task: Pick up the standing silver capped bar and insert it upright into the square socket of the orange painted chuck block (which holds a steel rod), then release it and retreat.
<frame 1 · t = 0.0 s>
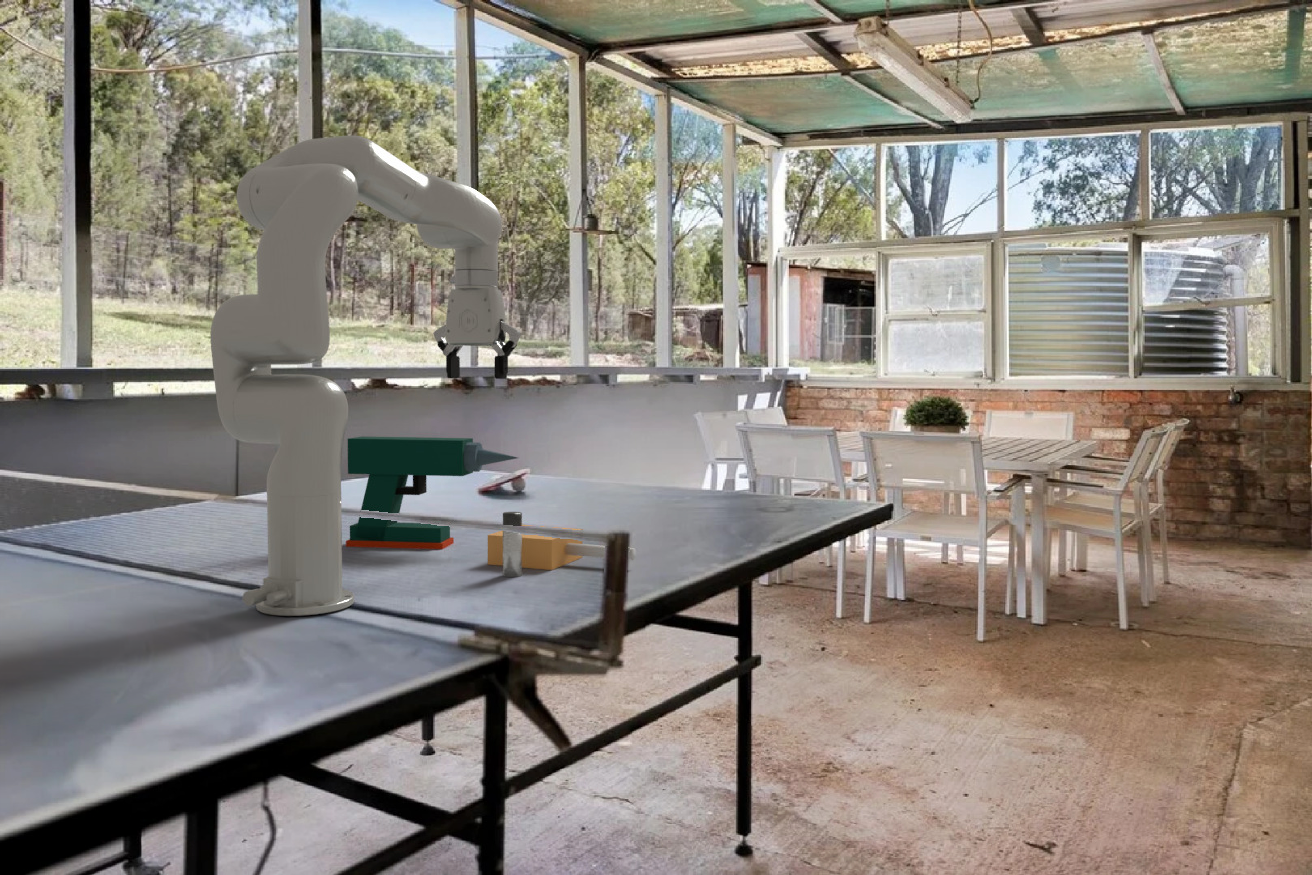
hand: (476, 378, 172), 31 cm above the table, fingers open, 9 cm apart
power tool: (436, 546, 179), on the table
silver capped bar: (512, 575, 153), on the table
chuck block: (536, 560, 165), on the table
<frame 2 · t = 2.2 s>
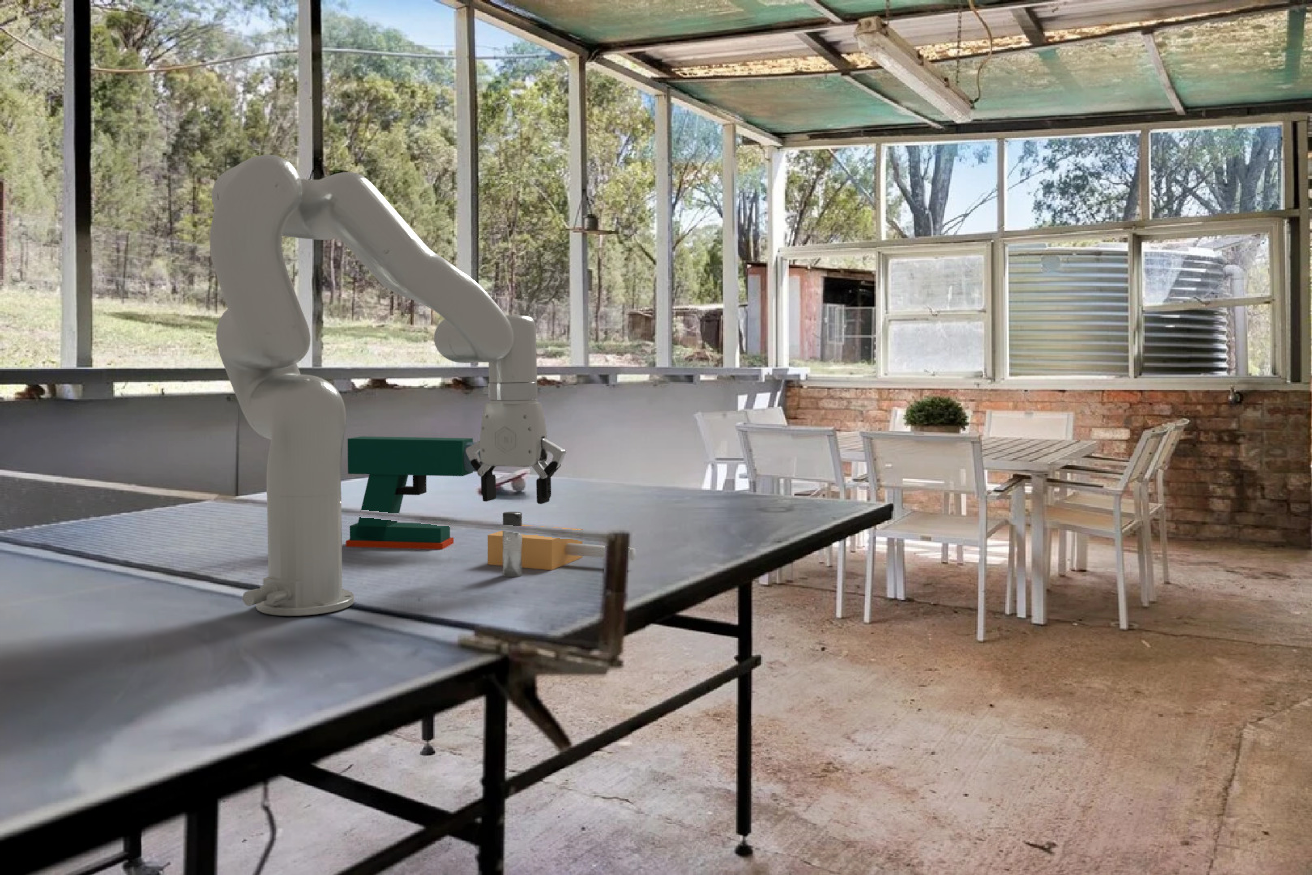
hand: (516, 501, 153), 12 cm above the table, fingers open, 9 cm apart
nothing on the table moved.
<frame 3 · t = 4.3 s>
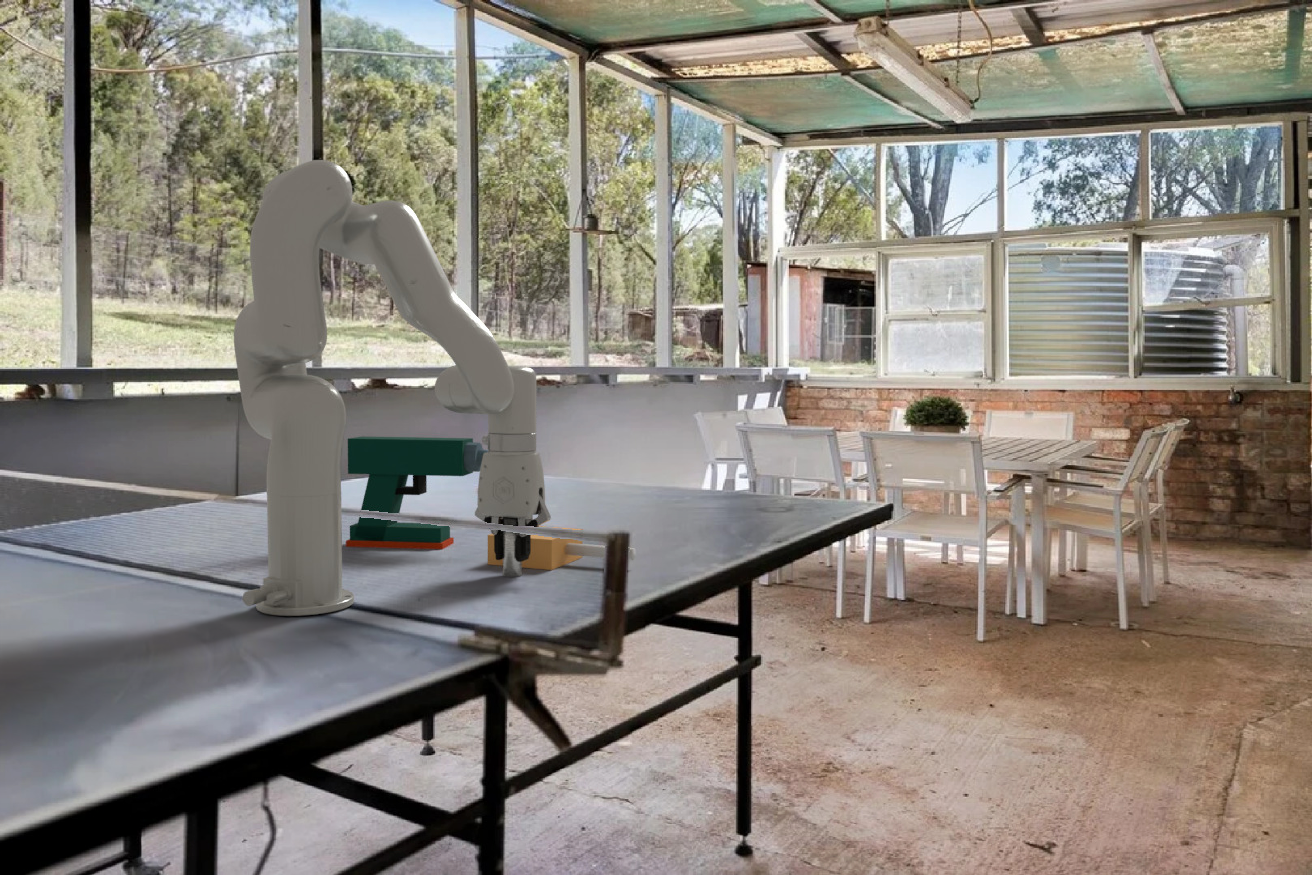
hand: (512, 558, 153), 3 cm above the table, fingers closed on silver capped bar, 3 cm apart
silver capped bar: (512, 575, 153), on the table, touching gripper
everything else where it was.
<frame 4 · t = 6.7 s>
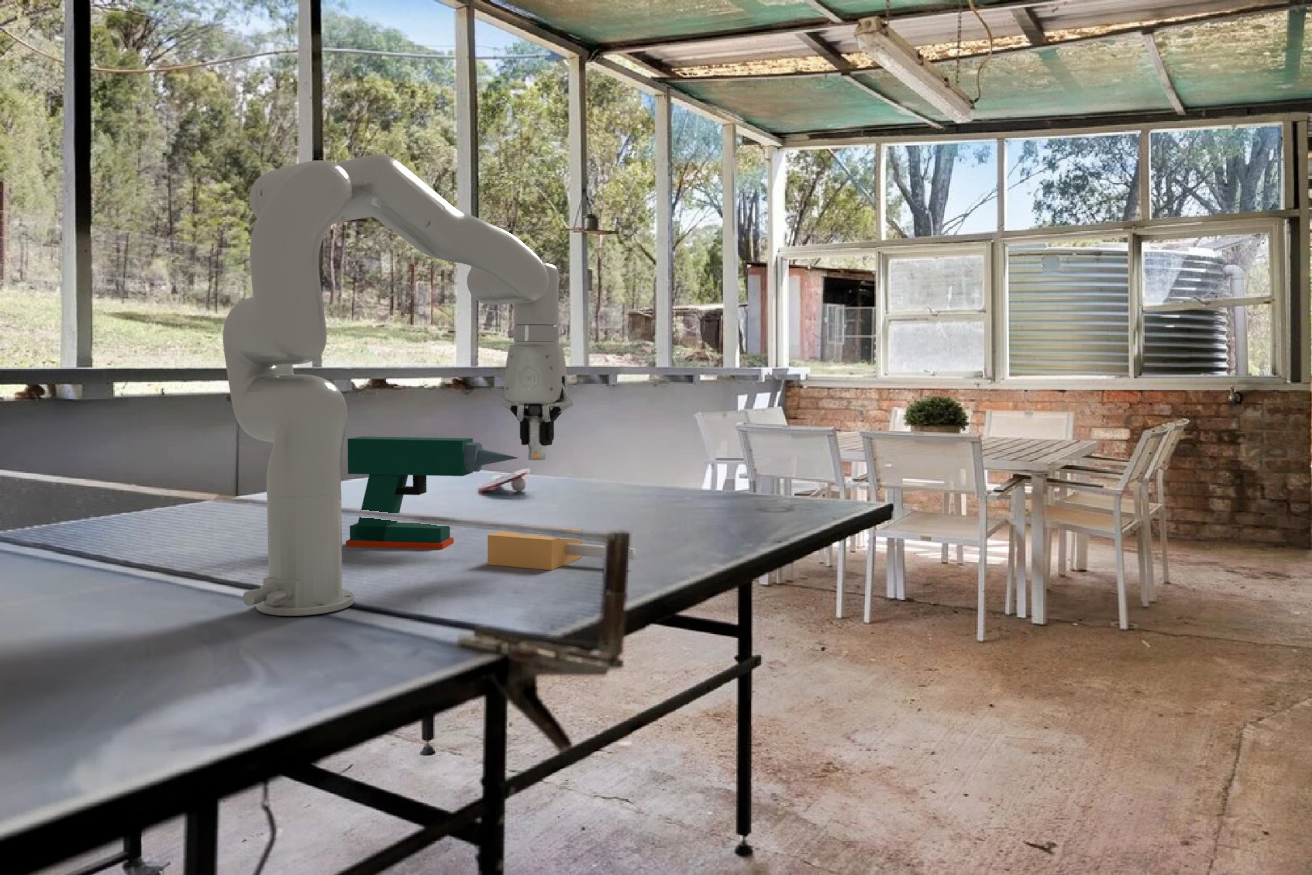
hand: (536, 443, 164), 20 cm above the table, fingers closed on silver capped bar, 3 cm apart
silver capped bar: (537, 459, 164), point 18 cm above the table, touching gripper
everything else where it was.
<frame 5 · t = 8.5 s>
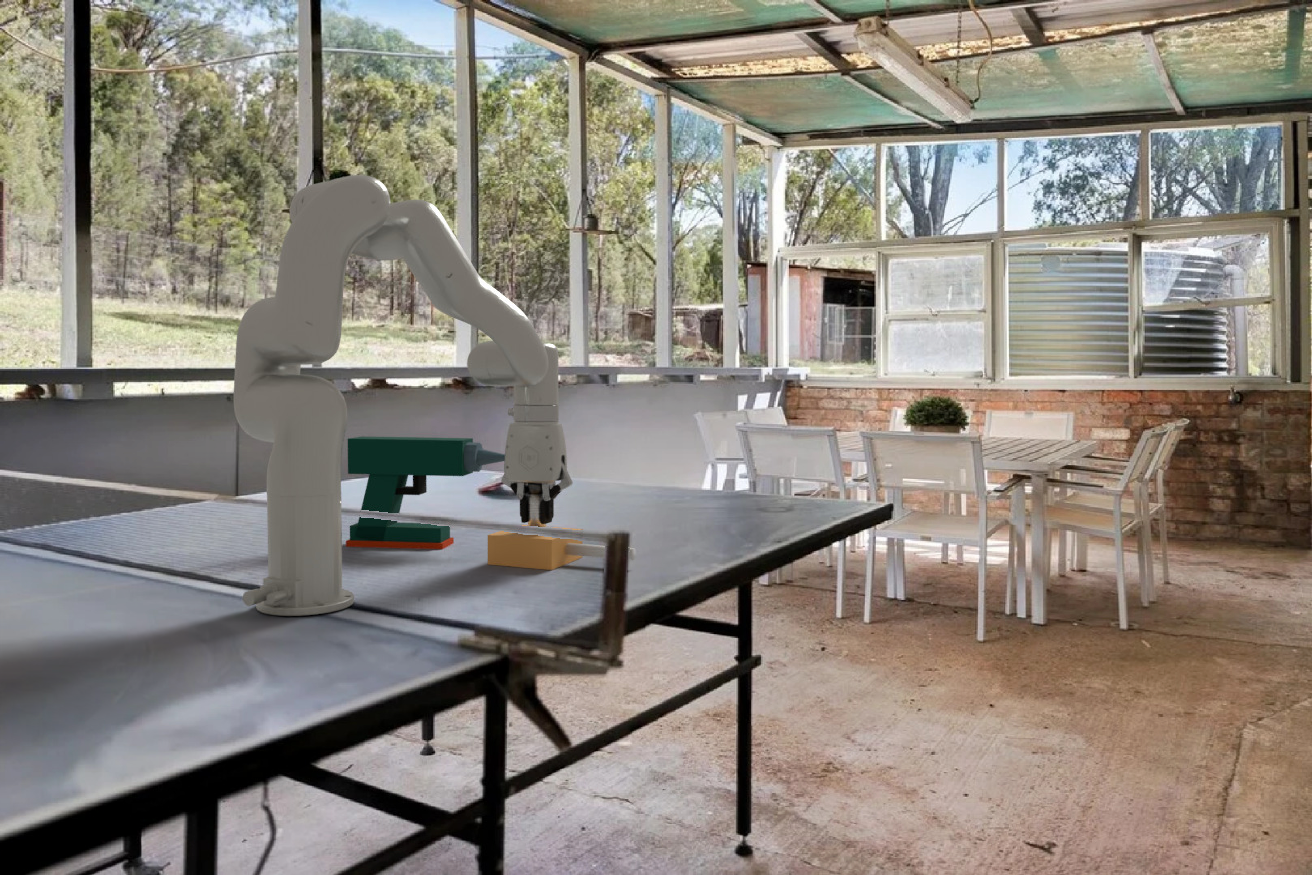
hand: (536, 521, 165), 7 cm above the table, fingers closed on silver capped bar, 3 cm apart
silver capped bar: (536, 536, 165), point 4 cm above the table, touching gripper
everything else where it was.
when the fingers open (6 cm above the table, at t = 9.6 s): silver capped bar drops 3 cm, resting in chuck block.
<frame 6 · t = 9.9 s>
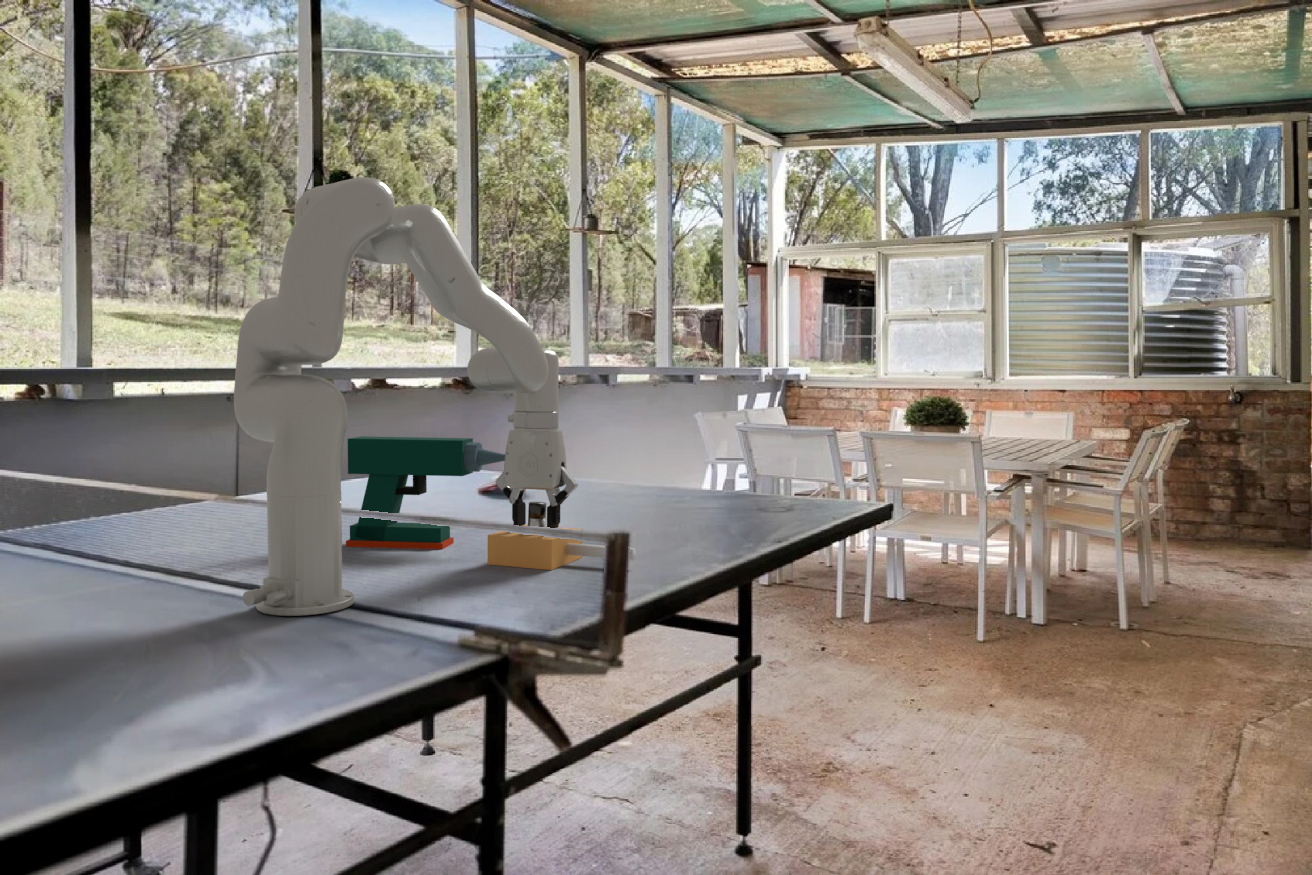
hand: (536, 526, 165), 6 cm above the table, fingers open, 5 cm apart
silver capped bar: (535, 560, 165), resting in chuck block
everything else where it was.
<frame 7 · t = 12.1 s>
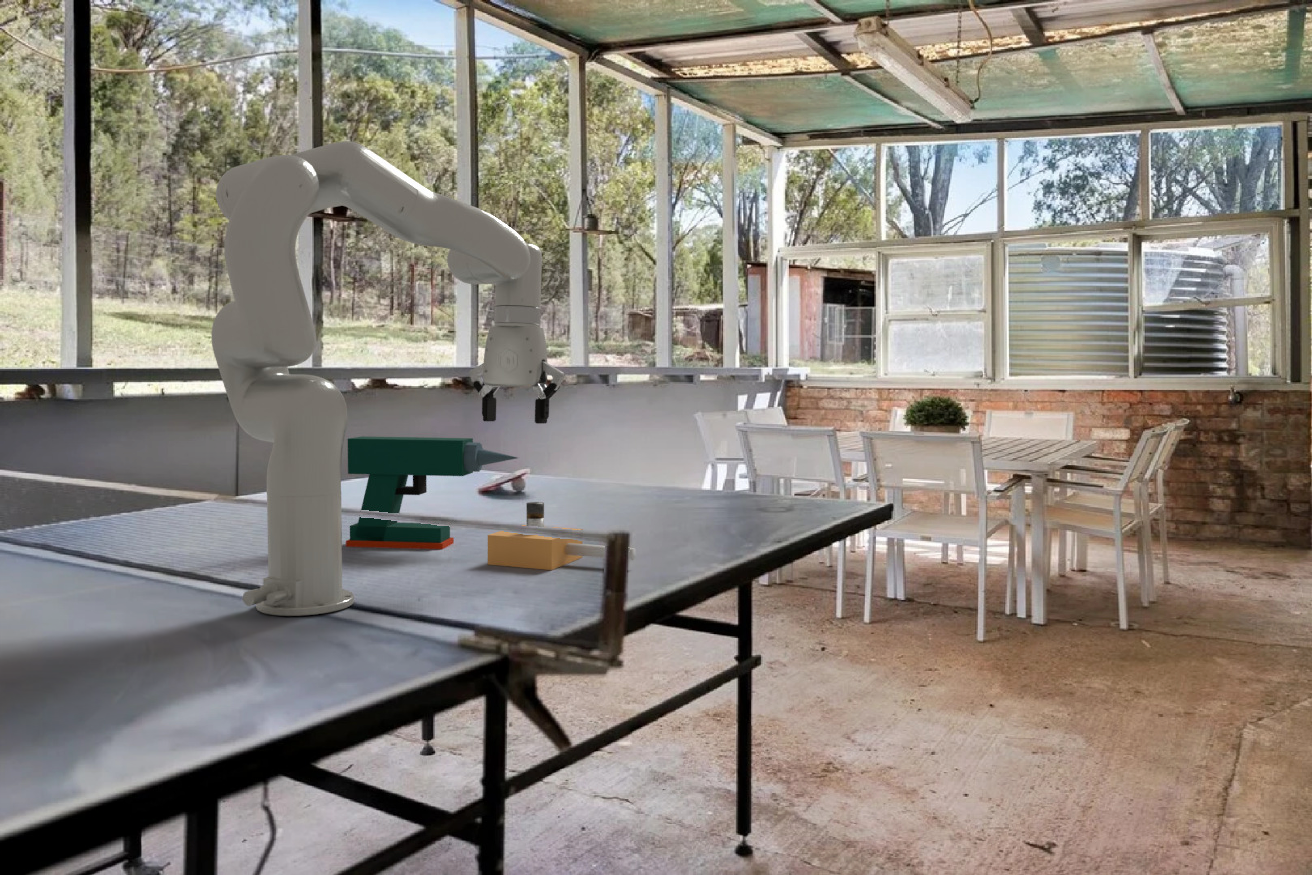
hand: (514, 422, 160), 24 cm above the table, fingers open, 9 cm apart
nothing on the table moved.
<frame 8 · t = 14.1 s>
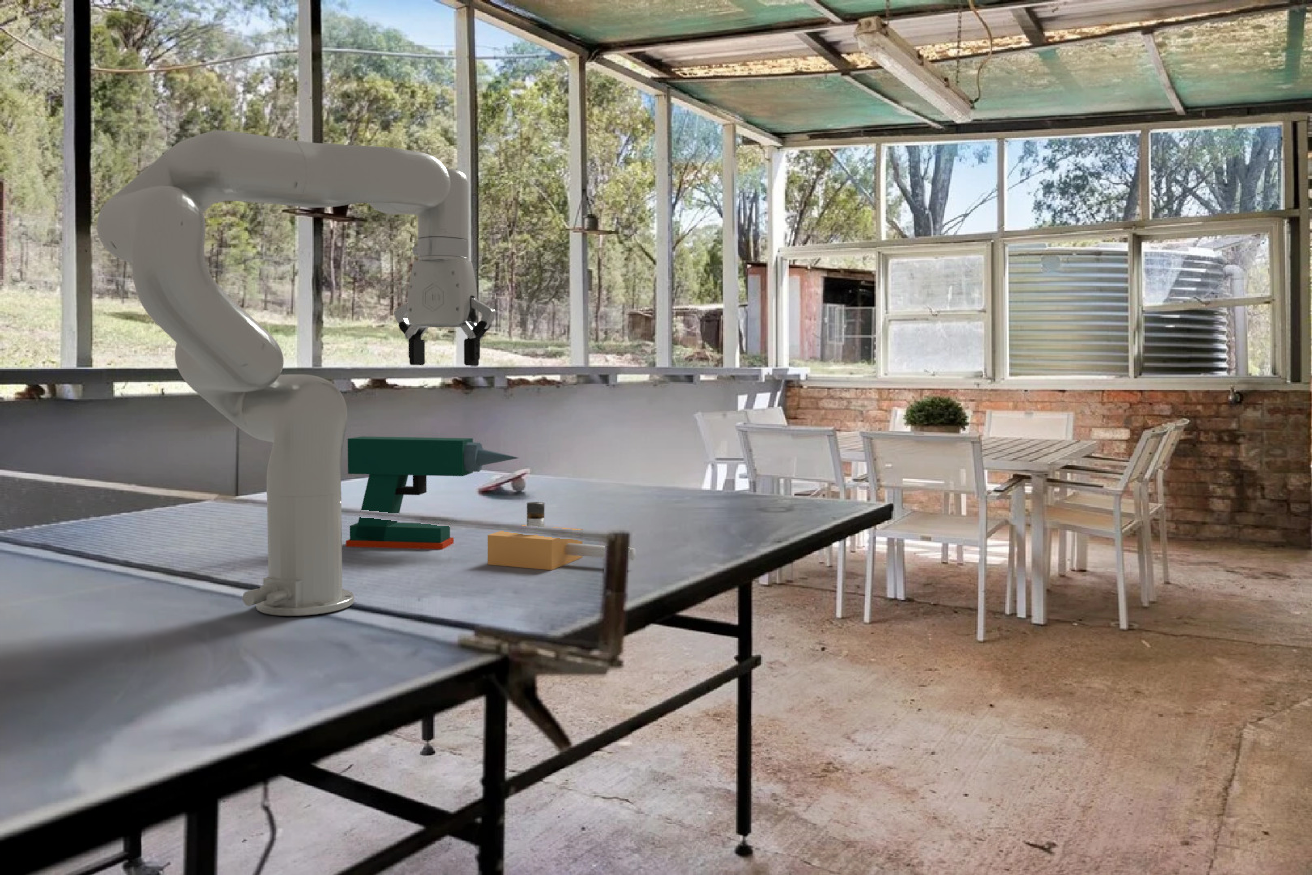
hand: (444, 365, 147), 33 cm above the table, fingers open, 9 cm apart
nothing on the table moved.
at the end: silver capped bar 0.1 cm off-centre on the chuck block, point 0.0 cm above the chuck block's base; silver capped bar tilted 0°; the gripper is holding nothing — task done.
